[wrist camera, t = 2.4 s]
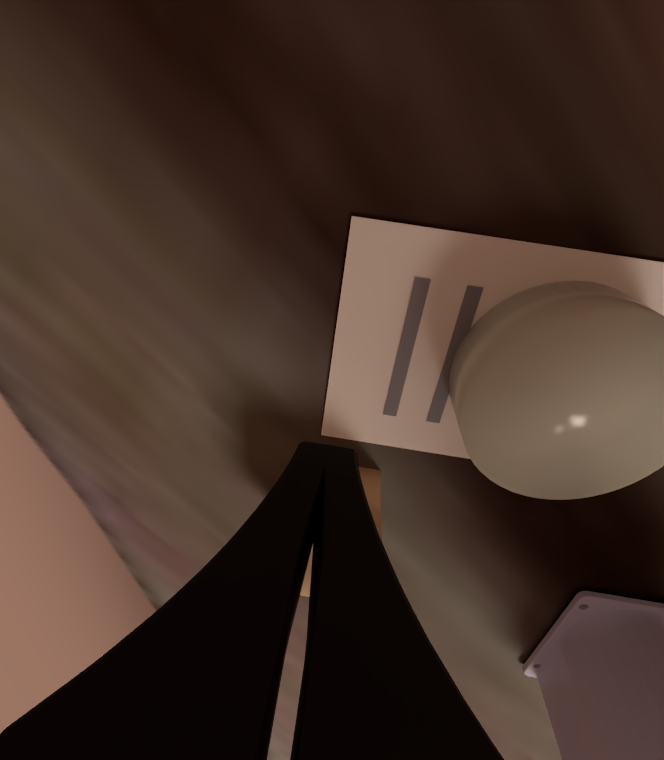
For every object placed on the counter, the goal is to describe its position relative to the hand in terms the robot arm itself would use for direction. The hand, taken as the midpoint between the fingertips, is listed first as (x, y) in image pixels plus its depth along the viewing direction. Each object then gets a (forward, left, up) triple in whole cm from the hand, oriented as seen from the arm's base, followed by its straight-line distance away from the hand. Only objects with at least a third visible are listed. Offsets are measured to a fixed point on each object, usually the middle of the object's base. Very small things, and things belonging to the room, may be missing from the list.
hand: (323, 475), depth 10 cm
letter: (0, -7, -8) cm, 10 cm away
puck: (0, -9, -8) cm, 12 cm away
